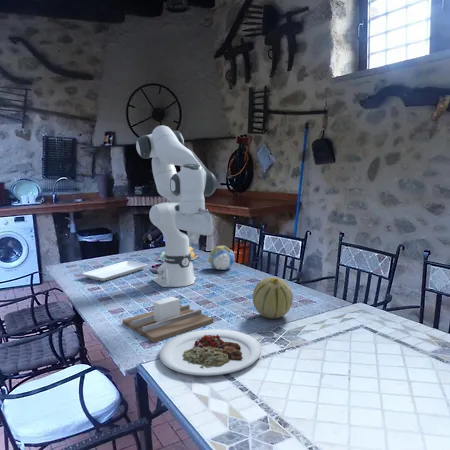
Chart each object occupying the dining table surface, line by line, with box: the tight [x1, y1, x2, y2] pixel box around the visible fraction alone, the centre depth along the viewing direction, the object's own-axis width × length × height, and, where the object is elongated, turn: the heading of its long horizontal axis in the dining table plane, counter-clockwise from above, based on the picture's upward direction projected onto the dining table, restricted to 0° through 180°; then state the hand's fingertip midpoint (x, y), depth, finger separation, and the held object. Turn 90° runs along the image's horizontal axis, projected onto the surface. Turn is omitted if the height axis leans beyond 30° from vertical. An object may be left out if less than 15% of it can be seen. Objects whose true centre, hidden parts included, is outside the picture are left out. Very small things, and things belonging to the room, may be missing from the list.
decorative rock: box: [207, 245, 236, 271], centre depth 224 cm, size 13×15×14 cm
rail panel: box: [121, 304, 214, 343], centre depth 150 cm, size 22×24×3 cm
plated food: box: [158, 328, 262, 376], centre depth 125 cm, size 30×30×3 cm
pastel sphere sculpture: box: [156, 245, 199, 263], centre depth 252 cm, size 25×24×9 cm
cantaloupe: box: [252, 276, 294, 319], centre depth 152 cm, size 15×15×15 cm
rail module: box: [152, 295, 181, 322], centre depth 150 cm, size 4×9×7 cm, turn 130°
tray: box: [81, 260, 148, 282], centre depth 221 cm, size 17×31×4 cm, turn 146°
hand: (194, 243), depth 161 cm, fingers closed
